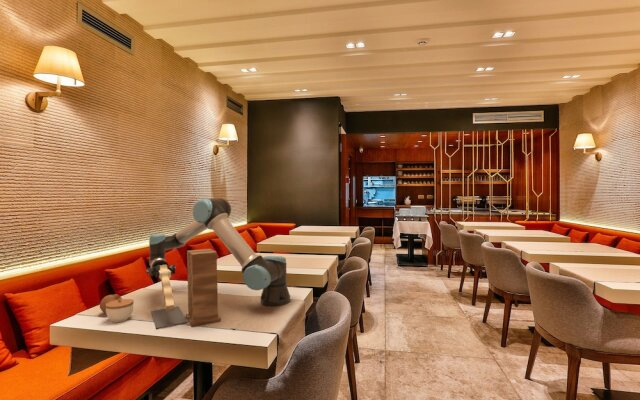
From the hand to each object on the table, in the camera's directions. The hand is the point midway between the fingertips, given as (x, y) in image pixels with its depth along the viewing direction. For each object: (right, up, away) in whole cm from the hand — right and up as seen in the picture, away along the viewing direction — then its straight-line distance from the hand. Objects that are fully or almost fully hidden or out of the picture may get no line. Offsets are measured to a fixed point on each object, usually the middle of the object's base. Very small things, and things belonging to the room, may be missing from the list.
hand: (165, 275), depth 152 cm
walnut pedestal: (+18, -18, -4) cm, 26 cm away
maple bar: (+1, -6, -1) cm, 6 cm away
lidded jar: (-19, -19, -4) cm, 27 cm away
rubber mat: (+2, -19, -2) cm, 19 cm away
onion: (-27, -19, +5) cm, 34 cm away
